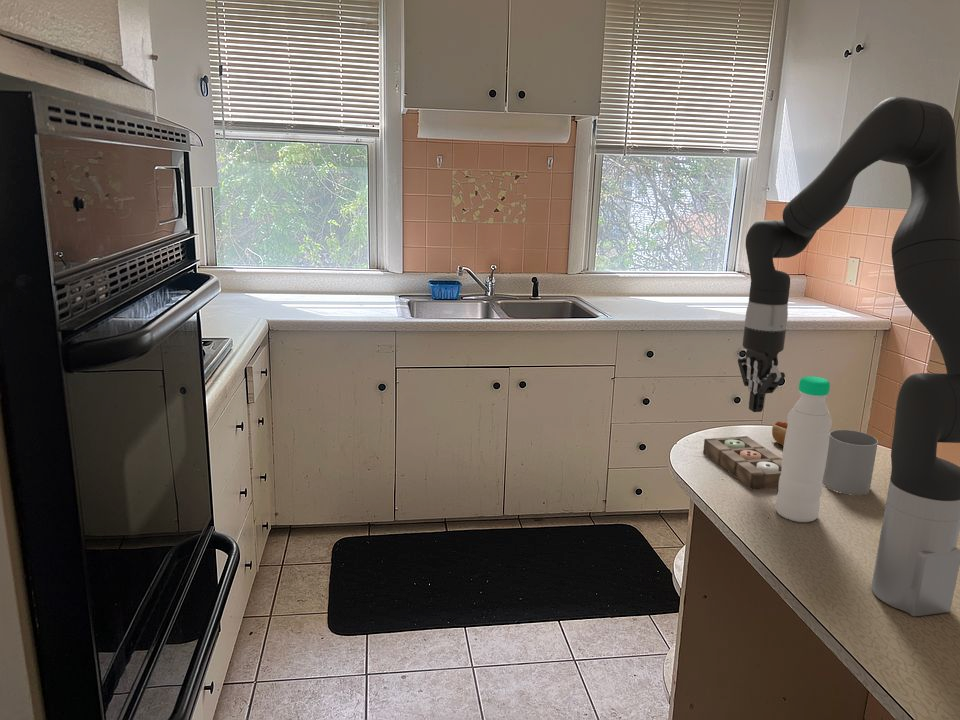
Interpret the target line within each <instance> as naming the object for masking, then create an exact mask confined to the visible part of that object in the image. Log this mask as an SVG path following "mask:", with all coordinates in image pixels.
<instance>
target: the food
mask: <svg viewBox="0 0 960 720" xmlns="http://www.w3.org/2000/svg"><path fill="white" fill-rule="evenodd" d="M787 426H788V423H787V421H776V423H774V424H773V425H772V426H771V435H772V437H773V440H774V441H775V442H776V443H777V444H779V445H781V446H782V447H784V440H785V435H786V430H787Z"/></svg>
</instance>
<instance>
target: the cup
mask: <svg viewBox="0 0 960 720" xmlns="http://www.w3.org/2000/svg"><path fill="white" fill-rule="evenodd" d="M878 443H879V439H877V438H876V437H875V436H873V435H871V434H868V433H865V432H861V431H858V430H852V429H834V430H832V431H829V446H828V454H827V460H826V466H825V471H824V475H823V479H822V483H823V484H824V485H825V486H826V487H828V488H830V489H832V490H835V491H838V492H841V493H840V494H842V493H845V494H844V495H846V494H851V495H850V496H854V495H857V496H865V495H867V493H868V494H870V491H871V484H872V479H873V472H874V467H875V461H876V456H877V449H878ZM824 485H823V486H824ZM825 486H824V487H825ZM826 487H825V488H826ZM828 488H827V489H828ZM830 489H829V490H830ZM832 490H831V491H832ZM835 491H834V492H835ZM838 492H837V493H838Z"/></svg>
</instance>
